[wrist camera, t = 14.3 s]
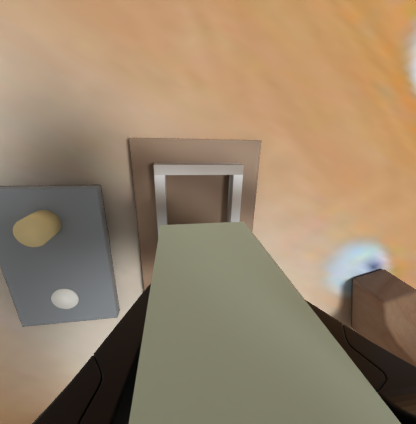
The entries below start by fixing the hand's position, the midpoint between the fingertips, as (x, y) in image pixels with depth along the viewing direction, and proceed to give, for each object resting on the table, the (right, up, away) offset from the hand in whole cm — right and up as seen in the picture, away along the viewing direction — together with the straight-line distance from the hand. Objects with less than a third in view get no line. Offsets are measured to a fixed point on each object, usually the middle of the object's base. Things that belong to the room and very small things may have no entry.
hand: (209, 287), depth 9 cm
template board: (-14, -1, +11) cm, 18 cm away
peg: (0, +1, +2) cm, 2 cm away
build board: (-1, -1, +13) cm, 13 cm away
